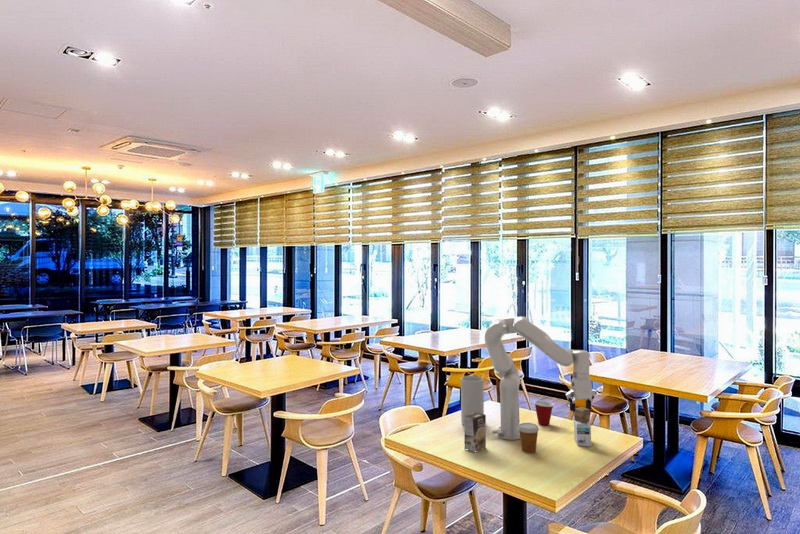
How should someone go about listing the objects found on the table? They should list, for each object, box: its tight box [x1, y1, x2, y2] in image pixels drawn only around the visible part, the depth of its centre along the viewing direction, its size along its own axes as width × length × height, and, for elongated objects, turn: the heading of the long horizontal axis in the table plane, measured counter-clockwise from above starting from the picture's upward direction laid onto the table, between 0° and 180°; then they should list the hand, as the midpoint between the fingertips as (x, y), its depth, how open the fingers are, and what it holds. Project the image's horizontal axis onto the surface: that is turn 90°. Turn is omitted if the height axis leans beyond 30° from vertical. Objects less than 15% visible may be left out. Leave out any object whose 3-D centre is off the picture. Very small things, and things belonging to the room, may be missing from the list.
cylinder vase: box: [460, 375, 485, 425], centre depth 277 cm, size 12×12×25 cm
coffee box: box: [463, 413, 487, 453], centre depth 238 cm, size 9×6×16 cm
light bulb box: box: [573, 419, 592, 447], centre depth 244 cm, size 11×7×11 cm, turn 169°
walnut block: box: [573, 406, 591, 423], centre depth 244 cm, size 5×5×6 cm
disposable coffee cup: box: [518, 422, 540, 454], centre depth 234 cm, size 10×10×12 cm
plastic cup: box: [533, 400, 555, 427], centre depth 273 cm, size 11×11×12 cm
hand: (580, 410), depth 244 cm, fingers open, 9 cm apart
